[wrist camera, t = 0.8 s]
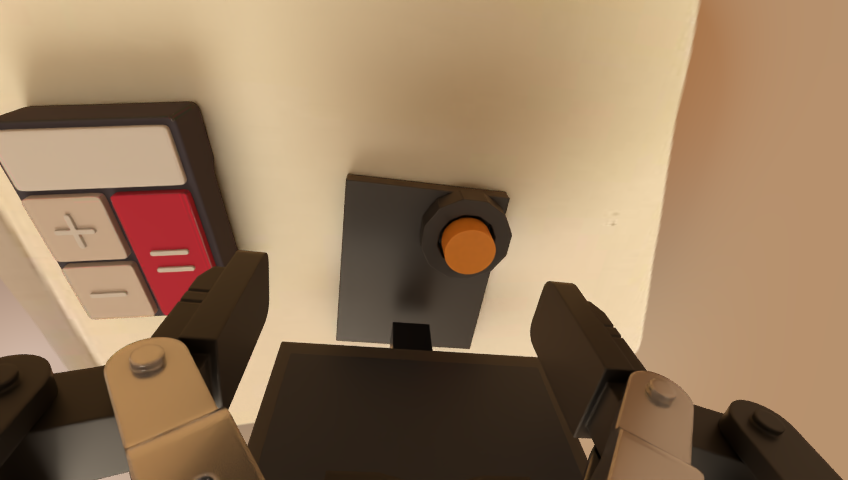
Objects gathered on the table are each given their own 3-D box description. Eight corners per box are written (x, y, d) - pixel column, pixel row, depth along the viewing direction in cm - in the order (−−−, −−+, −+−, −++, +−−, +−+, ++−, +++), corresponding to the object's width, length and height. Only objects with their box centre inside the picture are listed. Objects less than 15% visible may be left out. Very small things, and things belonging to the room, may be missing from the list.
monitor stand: (392, 321, 33) (393, 438, 24) (429, 324, 34) (443, 440, 25) (390, 340, 34) (389, 459, 25) (425, 342, 35) (437, 460, 26)
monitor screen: (281, 340, 27) (212, 548, 17) (543, 356, 29) (627, 547, 19) (281, 361, 28) (216, 572, 18) (536, 375, 30) (612, 569, 20)
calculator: (84, 327, 31) (-39, 126, 23) (116, 290, 34) (20, 106, 26) (235, 319, 31) (167, 119, 23) (251, 283, 35) (197, 100, 27)
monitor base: (347, 170, 30) (343, 185, 28) (509, 189, 32) (520, 205, 29) (337, 331, 37) (333, 355, 35) (470, 340, 39) (476, 364, 36)
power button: (445, 214, 29) (449, 227, 28) (494, 219, 30) (501, 232, 28) (437, 257, 31) (440, 272, 29) (484, 261, 32) (489, 276, 30)
